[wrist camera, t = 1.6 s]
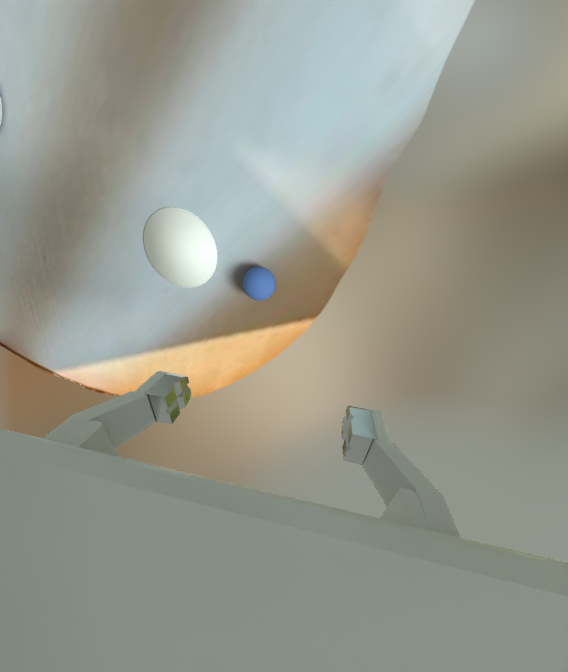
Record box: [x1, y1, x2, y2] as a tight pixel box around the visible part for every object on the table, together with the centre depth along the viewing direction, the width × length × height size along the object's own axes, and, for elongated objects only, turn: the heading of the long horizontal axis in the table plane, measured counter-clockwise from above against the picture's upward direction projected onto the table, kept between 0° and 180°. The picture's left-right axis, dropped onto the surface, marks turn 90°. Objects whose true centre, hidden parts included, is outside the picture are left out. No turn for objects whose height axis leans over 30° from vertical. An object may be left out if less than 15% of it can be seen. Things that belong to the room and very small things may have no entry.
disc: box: [143, 207, 217, 288], centre depth 38 cm, size 13×13×1 cm
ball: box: [243, 267, 276, 301], centre depth 37 cm, size 6×6×6 cm
